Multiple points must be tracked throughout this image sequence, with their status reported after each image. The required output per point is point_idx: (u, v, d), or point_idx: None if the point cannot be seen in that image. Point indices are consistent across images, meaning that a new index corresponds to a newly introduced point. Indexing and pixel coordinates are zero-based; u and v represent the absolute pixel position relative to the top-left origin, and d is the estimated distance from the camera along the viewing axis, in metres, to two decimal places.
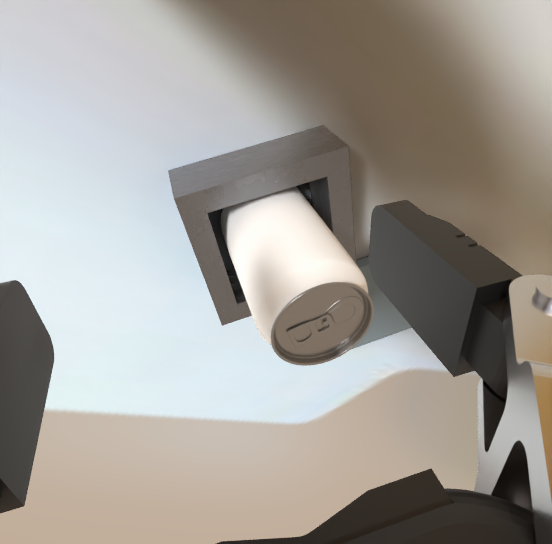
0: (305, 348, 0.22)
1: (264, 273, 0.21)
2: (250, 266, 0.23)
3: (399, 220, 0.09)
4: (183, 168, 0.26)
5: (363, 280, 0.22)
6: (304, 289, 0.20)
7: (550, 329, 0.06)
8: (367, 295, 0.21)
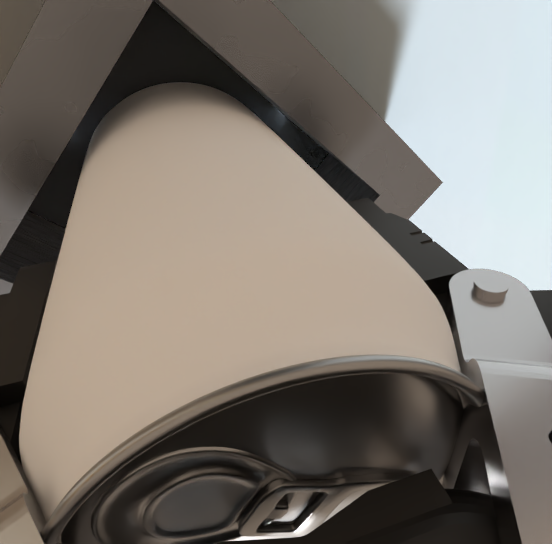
0: (417, 451, 0.05)
1: None
2: None
3: None
4: None
5: (28, 467, 0.05)
6: None
7: (480, 320, 0.06)
8: None
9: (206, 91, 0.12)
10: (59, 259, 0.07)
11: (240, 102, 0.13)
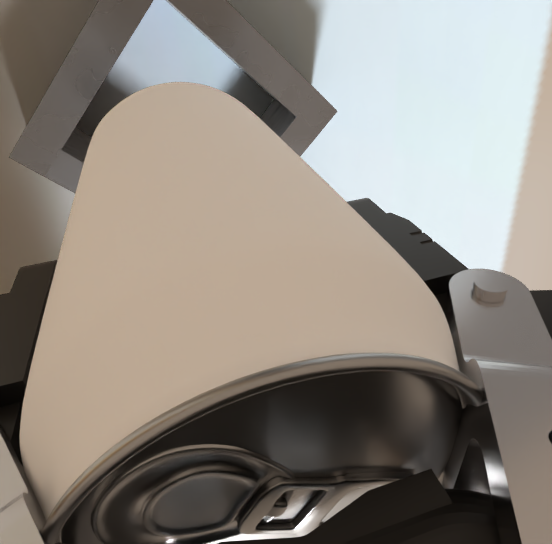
0: (415, 449, 0.05)
1: None
2: None
3: None
4: None
5: (28, 465, 0.05)
6: None
7: (481, 320, 0.06)
8: None
9: (206, 91, 0.12)
10: (59, 258, 0.07)
11: (240, 102, 0.13)
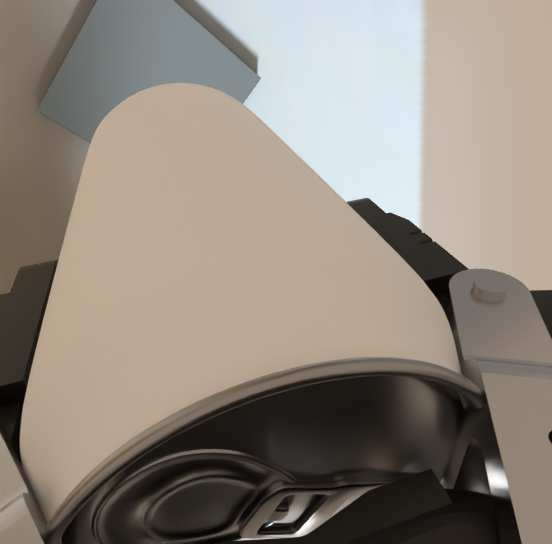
0: (417, 453, 0.05)
1: None
2: None
3: None
4: None
5: (28, 470, 0.05)
6: None
7: (481, 320, 0.06)
8: None
9: (207, 92, 0.12)
10: (59, 260, 0.07)
11: (241, 103, 0.13)
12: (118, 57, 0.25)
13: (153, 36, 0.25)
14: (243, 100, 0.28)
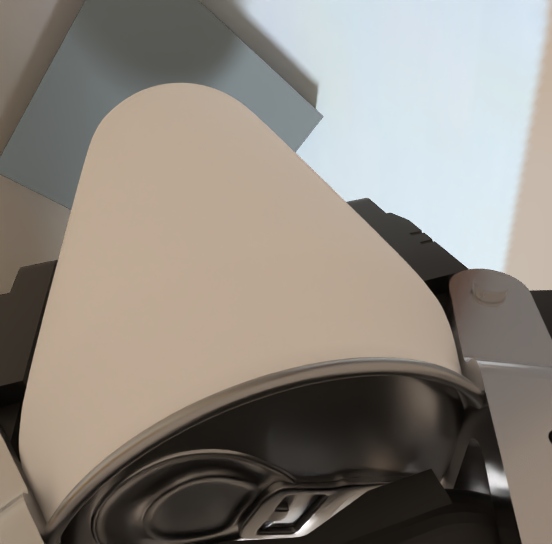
0: (418, 453, 0.05)
1: None
2: None
3: None
4: None
5: (27, 470, 0.05)
6: None
7: (481, 320, 0.06)
8: None
9: (206, 92, 0.12)
10: (59, 260, 0.07)
11: (240, 103, 0.13)
12: (117, 90, 0.16)
13: (170, 59, 0.16)
14: (296, 147, 0.20)
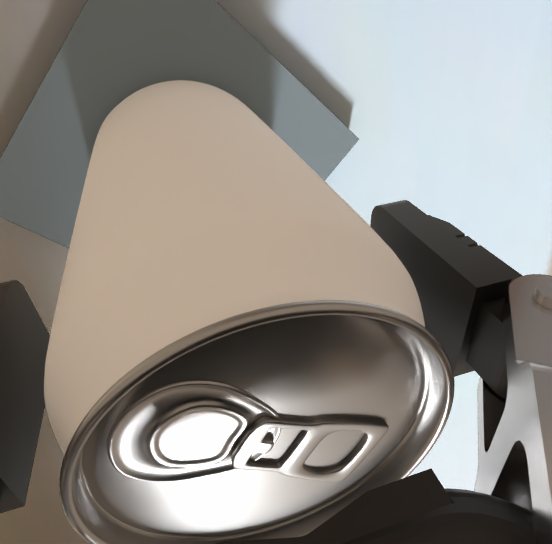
0: (386, 397, 0.06)
1: None
2: None
3: (399, 220, 0.09)
4: None
5: (52, 405, 0.06)
6: None
7: (550, 329, 0.06)
8: (65, 490, 0.05)
9: (205, 88, 0.12)
10: (73, 237, 0.08)
11: (237, 99, 0.14)
12: None
13: (186, 75, 0.14)
14: (327, 174, 0.17)
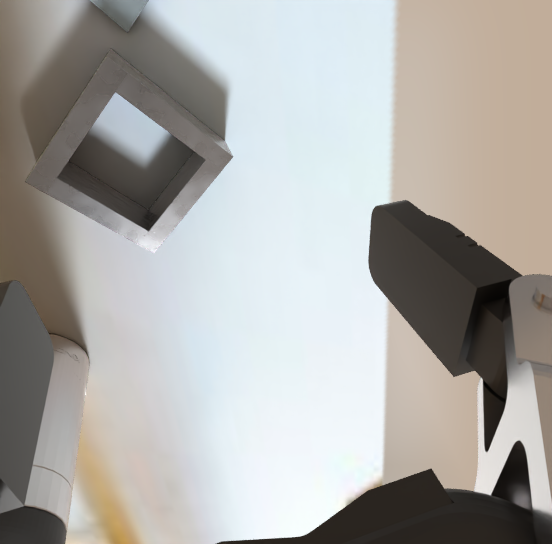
0: None
1: None
2: None
3: (399, 220, 0.09)
4: None
5: None
6: None
7: (550, 329, 0.06)
8: None
9: None
10: None
11: None
12: None
13: None
14: None
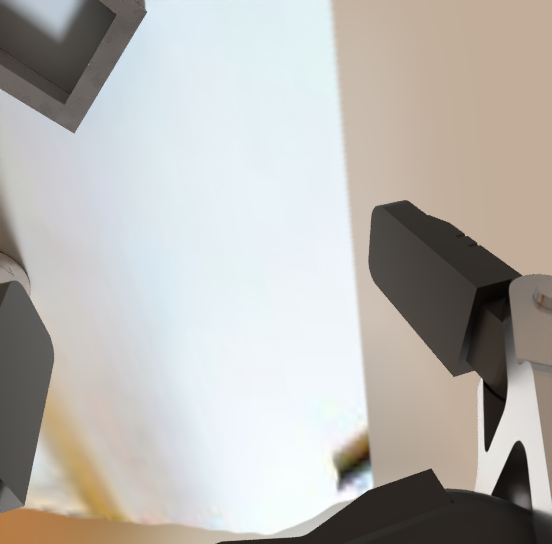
0: None
1: None
2: None
3: (399, 220, 0.09)
4: None
5: None
6: None
7: (550, 329, 0.06)
8: None
9: None
10: None
11: None
12: None
13: None
14: None
